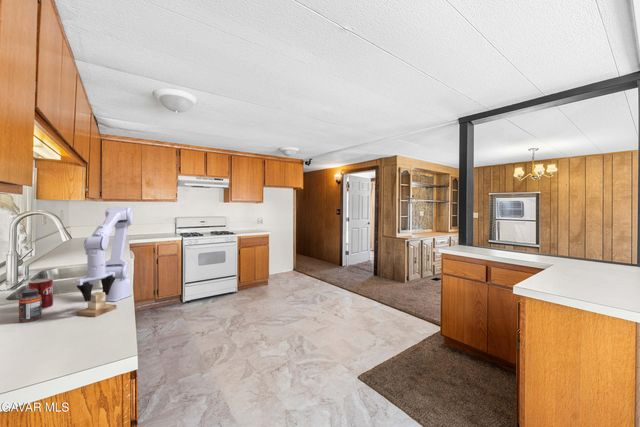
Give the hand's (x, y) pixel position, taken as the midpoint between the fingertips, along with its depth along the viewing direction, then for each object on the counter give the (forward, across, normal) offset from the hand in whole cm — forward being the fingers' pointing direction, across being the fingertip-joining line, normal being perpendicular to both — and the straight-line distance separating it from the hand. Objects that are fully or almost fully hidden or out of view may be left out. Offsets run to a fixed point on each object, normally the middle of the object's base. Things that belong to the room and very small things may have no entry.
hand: (97, 297), depth 110 cm
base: (+6, 0, 0) cm, 6 cm away
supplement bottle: (+6, +11, -17) cm, 22 cm away
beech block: (+4, 0, 0) cm, 4 cm away
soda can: (+6, +1, -28) cm, 28 cm away
